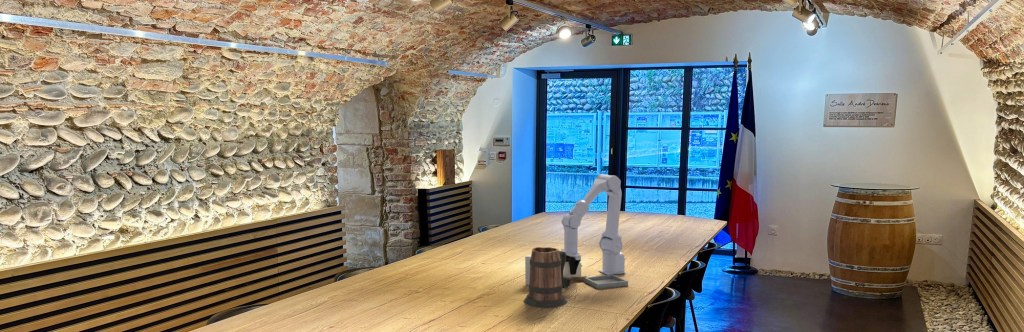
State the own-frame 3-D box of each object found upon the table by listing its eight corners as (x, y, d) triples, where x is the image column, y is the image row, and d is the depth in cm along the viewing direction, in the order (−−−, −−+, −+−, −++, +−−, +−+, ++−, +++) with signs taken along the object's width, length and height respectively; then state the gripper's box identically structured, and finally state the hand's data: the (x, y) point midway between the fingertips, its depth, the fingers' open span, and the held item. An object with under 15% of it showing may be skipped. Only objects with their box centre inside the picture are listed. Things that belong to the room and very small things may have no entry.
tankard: (549, 310, 232) (550, 256, 231) (514, 302, 243) (513, 250, 241) (586, 296, 250) (586, 246, 248) (551, 289, 261) (551, 240, 259)
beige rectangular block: (578, 276, 281) (578, 260, 281) (582, 278, 278) (582, 262, 277) (560, 278, 278) (560, 262, 277) (564, 280, 274) (564, 264, 274)
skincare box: (541, 283, 270) (541, 255, 269) (538, 286, 266) (538, 257, 265) (528, 282, 272) (528, 254, 271) (524, 284, 268) (524, 256, 267)
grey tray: (612, 279, 277) (613, 274, 277) (628, 285, 266) (628, 281, 266) (584, 282, 272) (584, 277, 272) (598, 289, 261) (598, 284, 260)
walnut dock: (573, 274, 285) (573, 270, 285) (586, 280, 274) (586, 276, 274) (552, 276, 281) (552, 272, 281) (564, 283, 270) (564, 278, 270)
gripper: (555, 239, 282) (555, 270, 283) (570, 245, 268) (570, 278, 269) (569, 238, 284) (569, 268, 285) (585, 244, 271) (585, 276, 272)
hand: (570, 273), depth 277 cm, fingers closed on beige rectangular block, 4 cm apart
